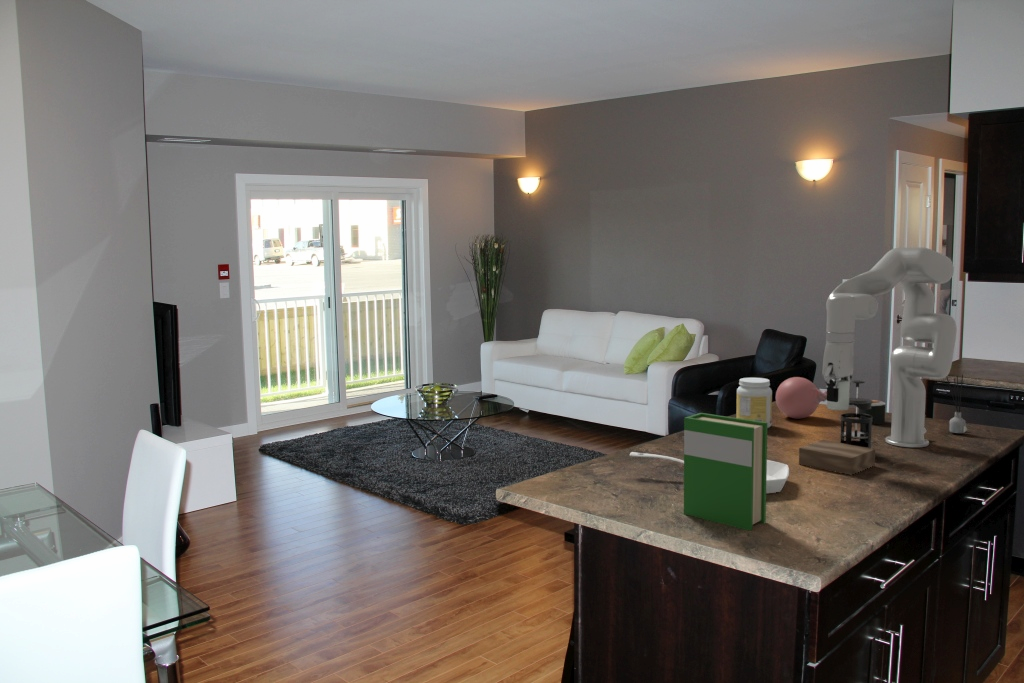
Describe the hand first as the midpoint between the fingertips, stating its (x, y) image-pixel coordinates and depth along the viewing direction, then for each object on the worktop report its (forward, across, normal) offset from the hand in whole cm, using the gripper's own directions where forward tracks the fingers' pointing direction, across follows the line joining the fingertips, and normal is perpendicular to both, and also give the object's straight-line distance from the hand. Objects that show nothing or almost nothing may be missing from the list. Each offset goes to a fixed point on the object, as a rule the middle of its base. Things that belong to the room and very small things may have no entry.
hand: (838, 399), depth 234 cm
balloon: (+20, -50, -39) cm, 67 cm away
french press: (+20, -16, -2) cm, 26 cm away
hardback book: (+20, +62, +4) cm, 65 cm away
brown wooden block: (+20, 0, 0) cm, 20 cm away
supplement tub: (+20, -27, -45) cm, 56 cm away
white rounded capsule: (+3, 0, 0) cm, 3 cm away
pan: (+20, +39, -17) cm, 47 cm away
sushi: (+20, -62, -19) cm, 68 cm away
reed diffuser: (+19, -65, +8) cm, 69 cm away
